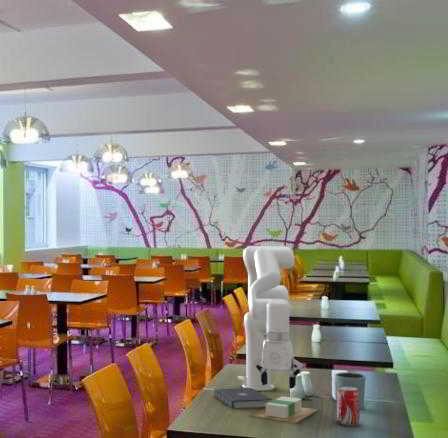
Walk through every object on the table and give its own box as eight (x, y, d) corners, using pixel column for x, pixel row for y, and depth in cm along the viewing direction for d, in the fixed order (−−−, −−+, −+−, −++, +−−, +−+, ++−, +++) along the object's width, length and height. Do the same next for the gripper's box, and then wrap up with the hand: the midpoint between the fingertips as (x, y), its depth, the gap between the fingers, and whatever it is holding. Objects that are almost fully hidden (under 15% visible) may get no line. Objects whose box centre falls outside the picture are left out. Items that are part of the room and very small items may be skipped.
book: (214, 396, 301) (213, 389, 301) (251, 395, 302) (251, 387, 302) (232, 409, 279) (232, 400, 280) (272, 407, 281) (271, 399, 281)
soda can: (333, 421, 263) (333, 386, 263) (353, 421, 263) (353, 385, 264) (342, 427, 256) (342, 390, 256) (363, 426, 256) (363, 390, 257)
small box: (350, 402, 292) (350, 374, 292) (335, 401, 293) (335, 373, 293) (347, 397, 300) (347, 370, 300) (331, 396, 301) (331, 369, 301)
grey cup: (365, 405, 286) (364, 373, 286) (366, 412, 276) (366, 378, 276) (335, 403, 289) (335, 371, 289) (336, 410, 279) (336, 376, 279)
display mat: (250, 416, 270) (250, 415, 270) (274, 404, 287) (274, 403, 287) (296, 423, 260) (296, 422, 260) (317, 411, 278) (317, 409, 278)
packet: (265, 415, 269) (265, 403, 269) (282, 407, 282) (282, 396, 282) (285, 418, 265) (285, 406, 265) (301, 410, 277) (301, 398, 277)
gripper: (249, 336, 271) (250, 385, 271) (298, 340, 261) (299, 391, 260) (258, 333, 277) (258, 381, 277) (306, 337, 267) (306, 387, 266)
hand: (278, 386), depth 268 cm, fingers open, 9 cm apart
